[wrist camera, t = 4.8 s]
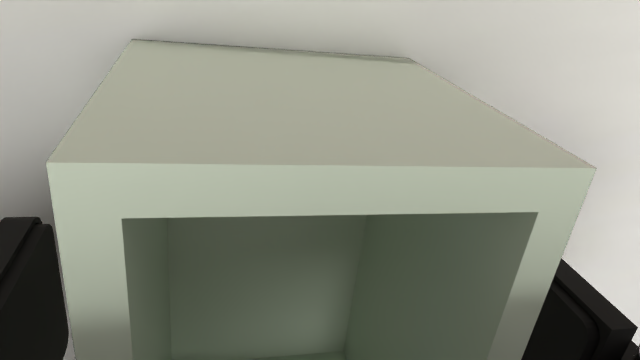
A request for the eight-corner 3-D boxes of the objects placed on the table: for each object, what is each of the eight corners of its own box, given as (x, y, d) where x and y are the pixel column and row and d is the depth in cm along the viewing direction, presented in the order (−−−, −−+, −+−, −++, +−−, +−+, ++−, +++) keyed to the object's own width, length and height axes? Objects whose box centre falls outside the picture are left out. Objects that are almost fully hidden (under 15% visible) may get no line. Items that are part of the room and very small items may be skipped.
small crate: (354, 349, 15) (436, 572, 10) (151, 366, 13) (118, 641, 8) (409, 58, 11) (596, 168, 6) (131, 39, 10) (45, 162, 4)
